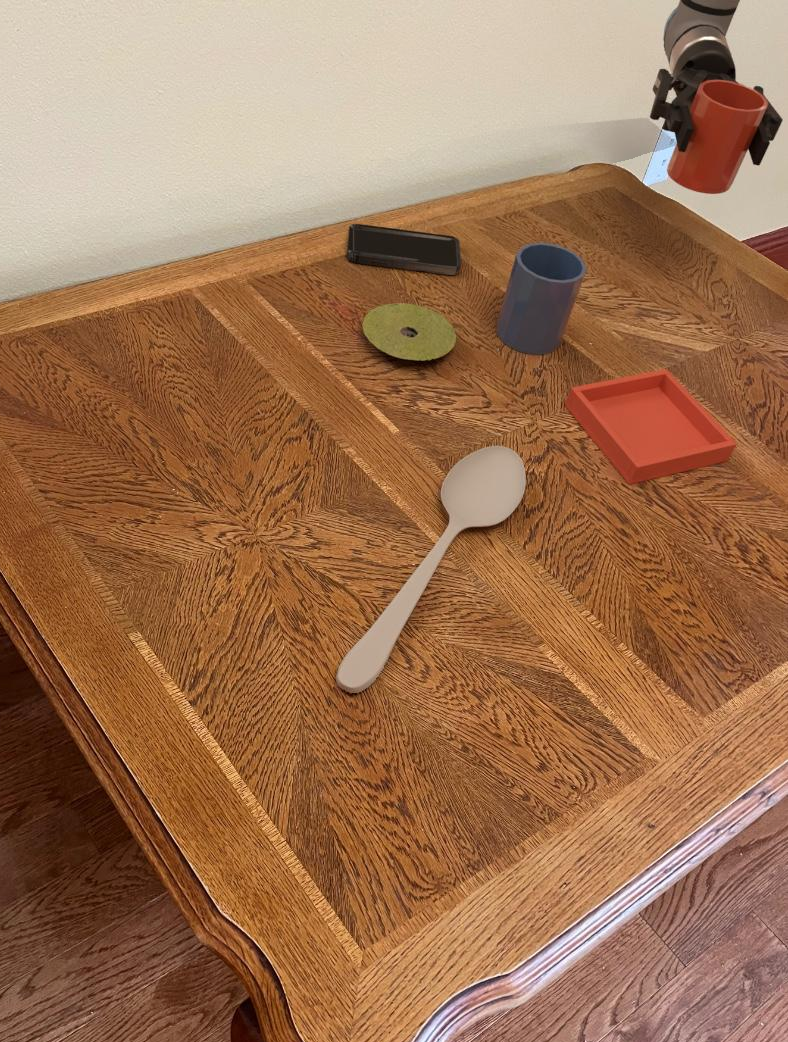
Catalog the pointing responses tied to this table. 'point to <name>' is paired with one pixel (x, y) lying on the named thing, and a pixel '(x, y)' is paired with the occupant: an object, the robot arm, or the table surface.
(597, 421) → the red tray
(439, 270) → the phone
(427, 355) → the green grinding disc
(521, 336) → the blue cup
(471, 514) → the spoon
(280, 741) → the table surface
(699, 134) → the rust cup
